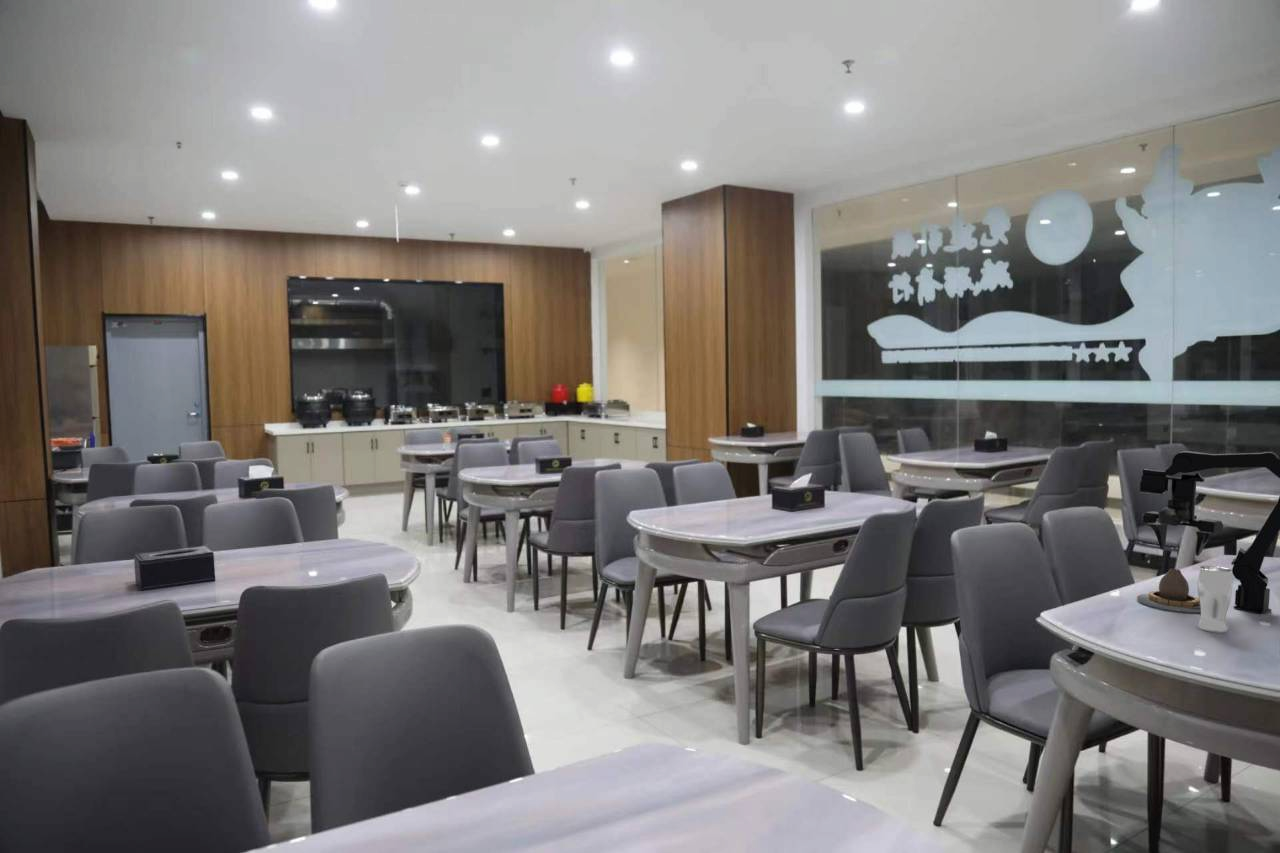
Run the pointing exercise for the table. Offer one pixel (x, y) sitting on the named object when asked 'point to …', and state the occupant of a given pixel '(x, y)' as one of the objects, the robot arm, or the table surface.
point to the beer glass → (1214, 597)
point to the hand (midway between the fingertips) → (1179, 552)
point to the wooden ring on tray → (1170, 603)
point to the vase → (1174, 586)
